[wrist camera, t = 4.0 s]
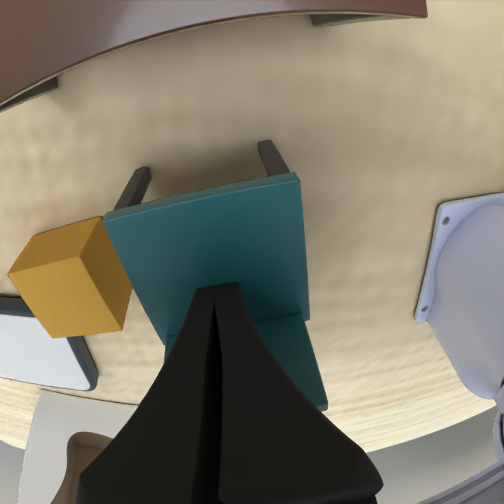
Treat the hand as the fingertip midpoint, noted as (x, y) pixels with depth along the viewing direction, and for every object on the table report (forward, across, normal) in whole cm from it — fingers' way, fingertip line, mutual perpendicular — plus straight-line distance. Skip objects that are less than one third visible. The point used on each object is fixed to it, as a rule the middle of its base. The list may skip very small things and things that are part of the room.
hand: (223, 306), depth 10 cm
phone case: (+6, +18, +5) cm, 20 cm away
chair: (+5, 0, 0) cm, 5 cm away
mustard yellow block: (+5, +8, 0) cm, 9 cm away
